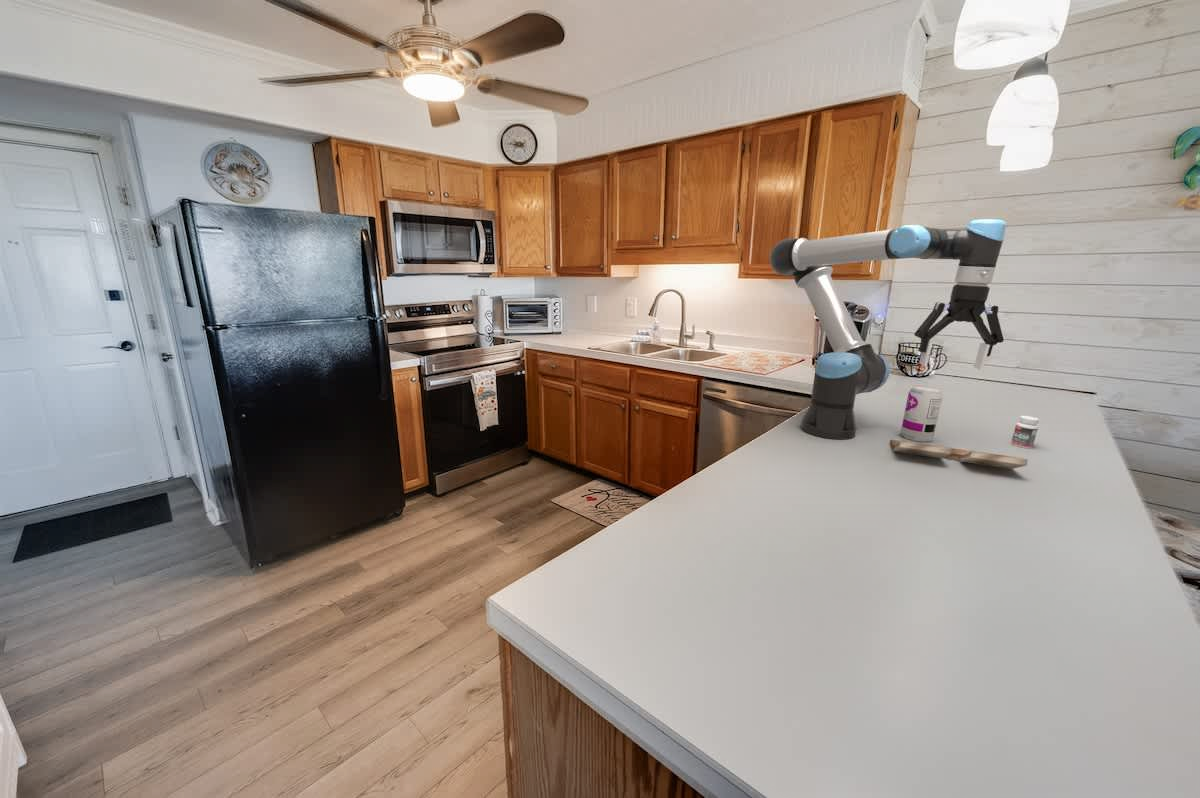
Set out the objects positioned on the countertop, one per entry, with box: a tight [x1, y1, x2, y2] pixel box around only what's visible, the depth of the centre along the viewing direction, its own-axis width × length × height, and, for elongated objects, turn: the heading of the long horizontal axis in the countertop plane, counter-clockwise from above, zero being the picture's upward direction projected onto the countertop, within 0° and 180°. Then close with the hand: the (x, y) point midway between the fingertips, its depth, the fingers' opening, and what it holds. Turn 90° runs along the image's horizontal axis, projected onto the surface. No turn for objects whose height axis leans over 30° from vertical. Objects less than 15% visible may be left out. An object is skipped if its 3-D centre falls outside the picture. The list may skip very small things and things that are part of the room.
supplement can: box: [900, 385, 944, 443], centre depth 139 cm, size 8×8×15 cm
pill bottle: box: [1010, 415, 1040, 449], centre depth 136 cm, size 5×5×8 cm
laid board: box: [889, 439, 1005, 462], centre depth 128 cm, size 26×6×2 cm, turn 66°
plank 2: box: [959, 450, 1029, 470], centre depth 118 cm, size 11×8×2 cm
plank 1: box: [892, 440, 953, 459], centre depth 124 cm, size 11×8×2 cm
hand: (950, 366), depth 127 cm, fingers open, 13 cm apart
